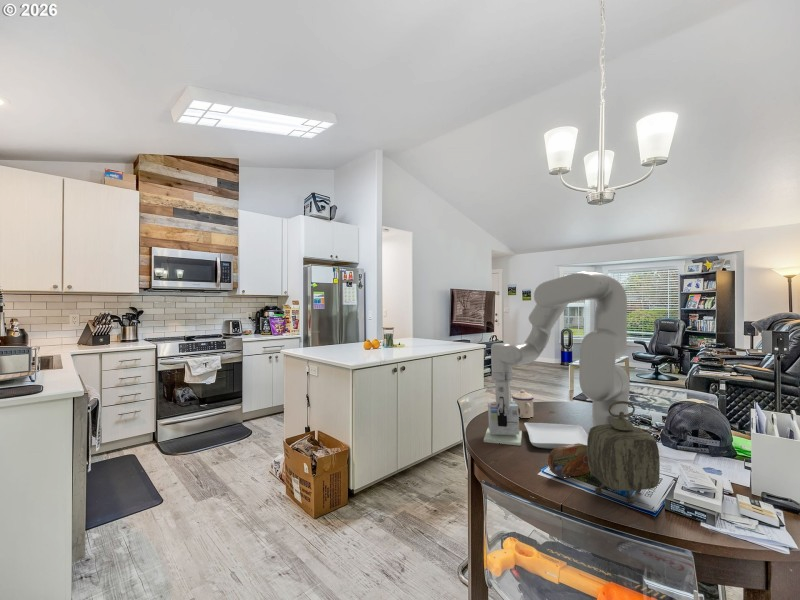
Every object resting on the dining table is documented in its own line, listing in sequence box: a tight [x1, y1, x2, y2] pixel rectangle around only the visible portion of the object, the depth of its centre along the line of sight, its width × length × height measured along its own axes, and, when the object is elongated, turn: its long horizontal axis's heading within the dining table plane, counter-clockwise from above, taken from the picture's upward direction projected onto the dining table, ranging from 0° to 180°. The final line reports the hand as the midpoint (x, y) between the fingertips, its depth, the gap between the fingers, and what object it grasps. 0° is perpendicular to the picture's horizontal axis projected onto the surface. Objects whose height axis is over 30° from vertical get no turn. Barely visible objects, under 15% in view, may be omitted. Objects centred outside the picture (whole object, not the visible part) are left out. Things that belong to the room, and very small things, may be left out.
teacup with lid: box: [511, 389, 534, 419], centre depth 166 cm, size 12×9×12 cm
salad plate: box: [523, 422, 588, 450], centre depth 137 cm, size 21×21×3 cm
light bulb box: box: [487, 401, 520, 435], centre depth 142 cm, size 11×7×11 cm, turn 84°
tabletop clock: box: [587, 401, 661, 504], centre depth 97 cm, size 14×9×25 cm, turn 92°
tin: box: [547, 443, 591, 479], centre depth 111 cm, size 15×3×8 cm, turn 106°
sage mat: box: [483, 427, 523, 446], centre depth 142 cm, size 13×13×1 cm
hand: (503, 422), depth 142 cm, fingers closed on light bulb box, 7 cm apart
